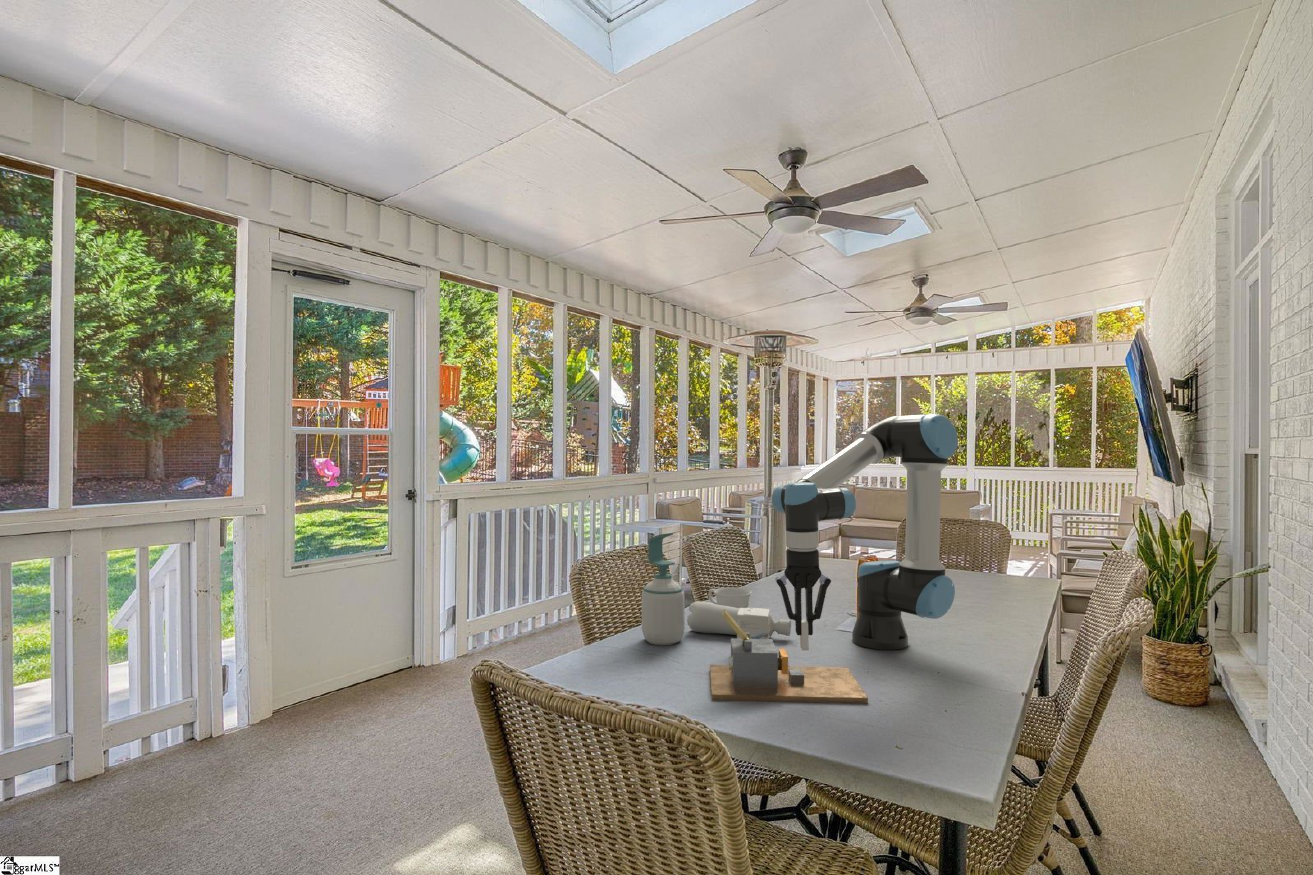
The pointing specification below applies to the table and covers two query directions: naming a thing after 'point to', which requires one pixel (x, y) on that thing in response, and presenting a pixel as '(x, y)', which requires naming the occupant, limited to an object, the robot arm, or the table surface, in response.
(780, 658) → the lynch pin
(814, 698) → the block
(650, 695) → the table surface
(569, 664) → the table surface
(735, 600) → the teacup
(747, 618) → the ink box
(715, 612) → the bottle
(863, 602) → the robot arm
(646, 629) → the soap bottle
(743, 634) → the tab
